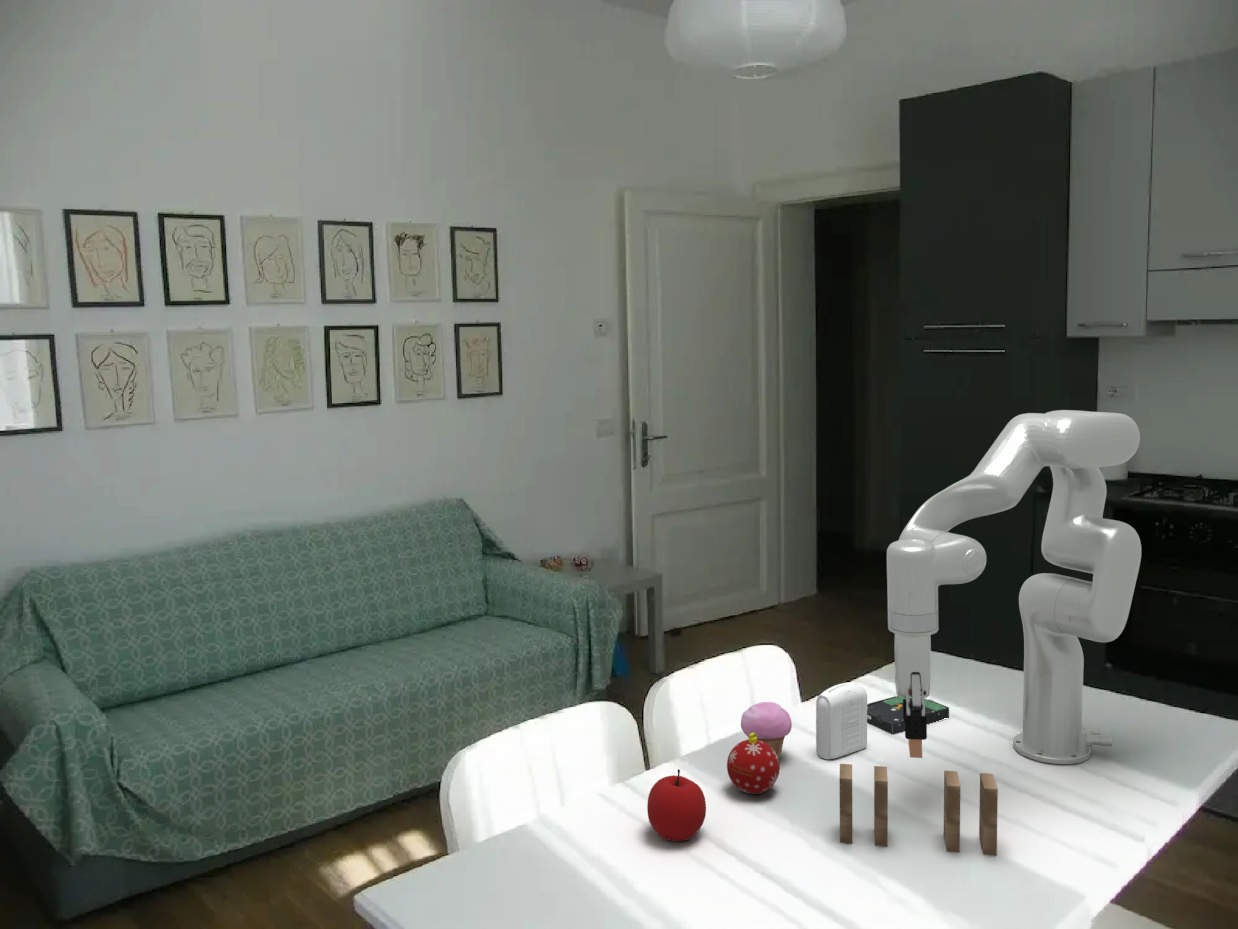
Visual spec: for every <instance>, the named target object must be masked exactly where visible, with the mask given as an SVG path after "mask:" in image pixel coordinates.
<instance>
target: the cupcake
mask: <svg viewBox="0 0 1238 929" xmlns="http://www.w3.org/2000/svg"><path fill="white" fill-rule="evenodd" d="M792 726H793V725H792V718H791V716H790V714H789V712H788V711H787V710H786V709H784V708H783V707H782V706H781V705H780V704H779V703H776V702H773V701H762V702H758V703H756V704H755V703H754V704H753V705H750V707H749V708H748V709H746V710H745V711H743V712H742V715H741V719H740V728H741V731H742V732H743V734H744V735H745V736H746V737H747V738H748V739H749V735H750V733H755V734H756V737H757V740H760V741H763V742H765V743H767V744H768V745H769V746H770V747H771V748H772V749H773V750H774V751H775V753H776V755H777V757H778V760H779V759H780V757H781V754H782V750H783V746H784V740H785V737H786V736H788V735H789V734H790V733H791V731H792V728H793V727H792ZM752 736H754V734H753V735H752Z"/></svg>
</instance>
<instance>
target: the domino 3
mask: <svg viewBox="0 0 1238 929" xmlns="http://www.w3.org/2000/svg"><path fill="white" fill-rule="evenodd" d="M908 691H909V690H908ZM909 694H911V695H912V691H909ZM920 694H921V693H920ZM910 703H912V699H910ZM907 743H908V752H909V757H910V758H915V759H916V758H917V759H922V758H923V740H918V739H907Z"/></svg>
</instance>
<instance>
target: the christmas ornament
mask: <svg viewBox="0 0 1238 929" xmlns="http://www.w3.org/2000/svg"><path fill="white" fill-rule="evenodd" d="M753 734H754V736H752V735H753ZM726 769H727V770H726V771H727V773H728V774H727V775H728V777H729V779H730V781H731V783H732V784H733V786H735V787H736V788H737V789H739V790H740V791H742V792H744V793H747V794H750V795H752V794H753V795H756V794H757V795H758V794H762V793H764V792H767V791H769V790H770V789H771V788H772V787H773V786H774V785H775V784H776V782H777V780H778V778H779V775H780V760H779V759H778V757H777V755H776V753H775V751H774V750H773V749H772V748H771V747H770V746H769V745H768V744H767V743H765V742H763V741H760V740H757V737H756V734H755V733H750V735H749V738H748V739H745V740H742V741H740V742H738V743H737V744H736V745H735V746H734V747H732V749H731V750H730V752H729V754H728V756H727V760H726Z"/></svg>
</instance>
